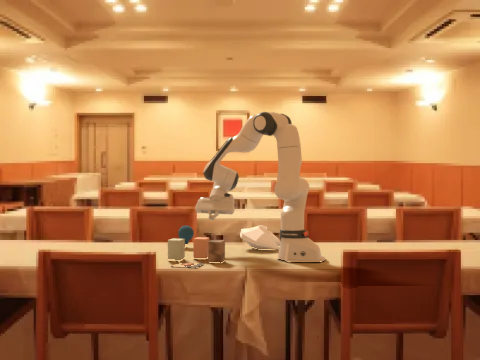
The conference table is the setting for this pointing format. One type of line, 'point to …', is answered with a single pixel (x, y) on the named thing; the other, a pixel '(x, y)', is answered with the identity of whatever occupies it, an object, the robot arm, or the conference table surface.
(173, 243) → the sage block
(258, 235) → the paper
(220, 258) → the walnut block
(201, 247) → the terracotta block
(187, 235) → the light bulb
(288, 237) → the robot arm
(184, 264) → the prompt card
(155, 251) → the conference table surface
